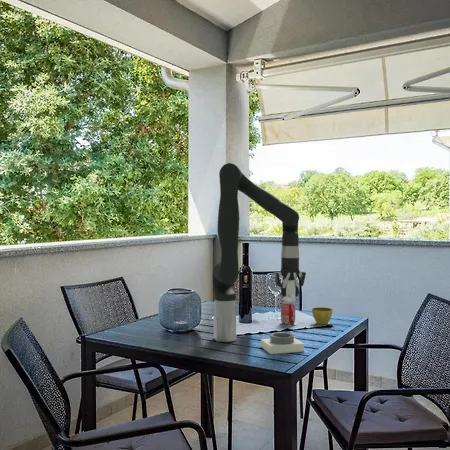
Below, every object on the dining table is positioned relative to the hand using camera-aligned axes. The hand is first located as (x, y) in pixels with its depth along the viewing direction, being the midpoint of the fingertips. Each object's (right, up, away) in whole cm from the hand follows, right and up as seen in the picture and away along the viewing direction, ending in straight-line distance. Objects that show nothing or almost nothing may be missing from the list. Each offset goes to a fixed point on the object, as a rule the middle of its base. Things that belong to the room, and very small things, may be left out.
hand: (289, 296), depth 201 cm
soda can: (+4, -19, +33) cm, 38 cm away
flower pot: (+20, -19, +33) cm, 43 cm away
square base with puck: (-5, -19, -12) cm, 23 cm away
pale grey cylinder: (0, -3, 0) cm, 3 cm away
